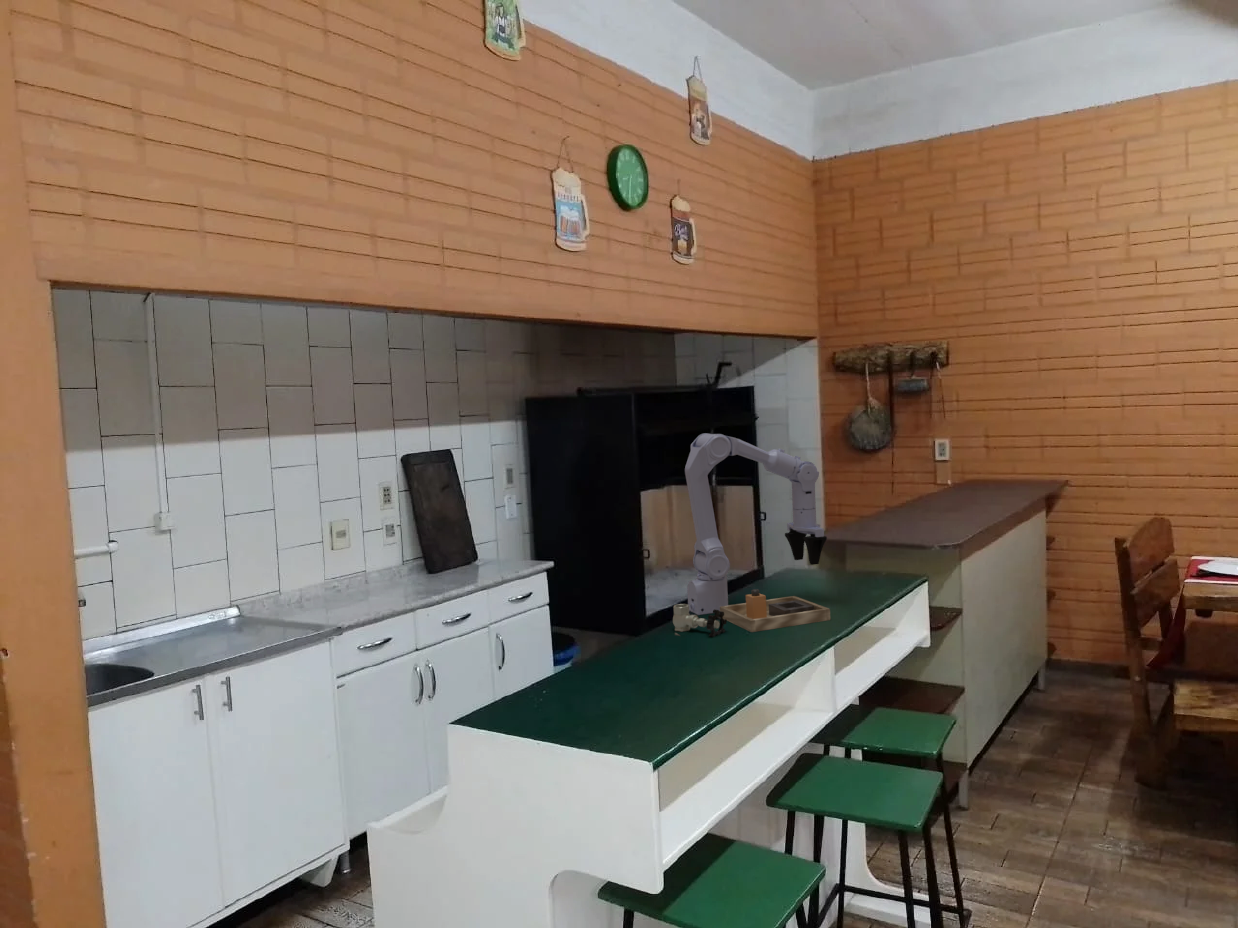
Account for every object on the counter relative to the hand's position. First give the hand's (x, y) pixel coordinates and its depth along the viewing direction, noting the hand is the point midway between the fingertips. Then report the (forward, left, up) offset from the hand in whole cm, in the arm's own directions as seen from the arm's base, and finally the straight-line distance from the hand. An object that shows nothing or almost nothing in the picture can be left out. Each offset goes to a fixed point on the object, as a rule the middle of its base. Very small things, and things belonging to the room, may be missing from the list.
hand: (806, 561), depth 234 cm
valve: (-37, -15, -10) cm, 42 cm away
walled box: (-17, -15, -10) cm, 25 cm away
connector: (-22, -15, -9) cm, 28 cm away
